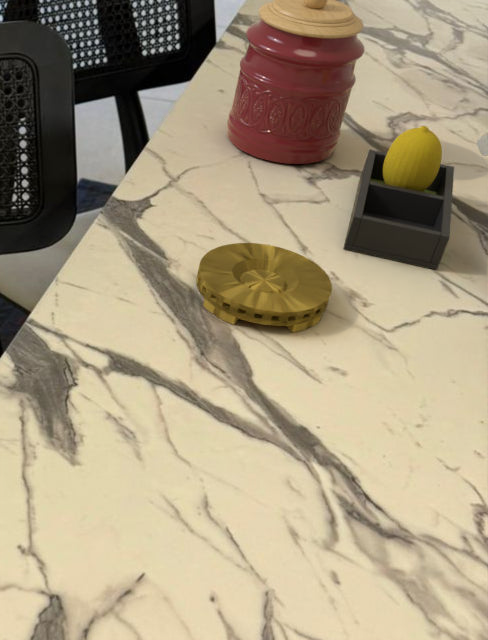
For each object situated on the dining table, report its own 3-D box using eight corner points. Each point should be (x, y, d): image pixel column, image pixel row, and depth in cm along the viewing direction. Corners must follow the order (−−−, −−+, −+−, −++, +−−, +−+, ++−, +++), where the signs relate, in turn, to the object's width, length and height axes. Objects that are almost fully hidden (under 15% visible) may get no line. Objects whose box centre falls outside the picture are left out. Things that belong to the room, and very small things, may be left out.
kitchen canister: (225, 114, 126) (258, -41, 114) (331, 128, 125) (375, -26, 113) (223, 157, 117) (258, -7, 105) (338, 173, 115) (386, 9, 104)
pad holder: (442, 197, 113) (454, 166, 110) (436, 270, 100) (449, 237, 98) (359, 179, 115) (369, 149, 112) (343, 249, 102) (353, 216, 100)
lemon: (392, 182, 113) (416, 111, 107) (436, 202, 110) (463, 130, 104) (363, 194, 110) (386, 122, 105) (406, 215, 107) (432, 142, 102)
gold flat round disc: (194, 323, 90) (199, 301, 89) (194, 256, 99) (198, 236, 97) (331, 341, 89) (338, 320, 88) (319, 272, 98) (325, 252, 97)
